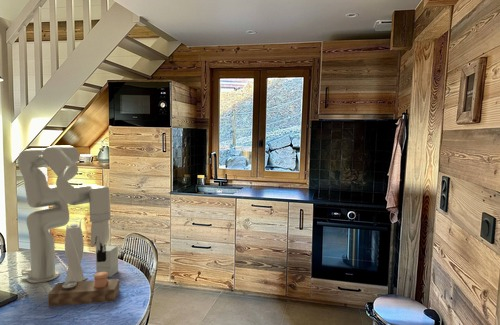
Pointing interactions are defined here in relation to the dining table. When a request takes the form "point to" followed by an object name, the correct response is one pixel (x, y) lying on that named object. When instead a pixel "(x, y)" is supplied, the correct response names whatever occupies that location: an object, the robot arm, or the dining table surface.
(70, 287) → the plug
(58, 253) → the dining table surface
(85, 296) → the plug block
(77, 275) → the skyscraper
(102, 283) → the terracotta plug
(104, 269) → the supplement box
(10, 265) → the dining table surface
